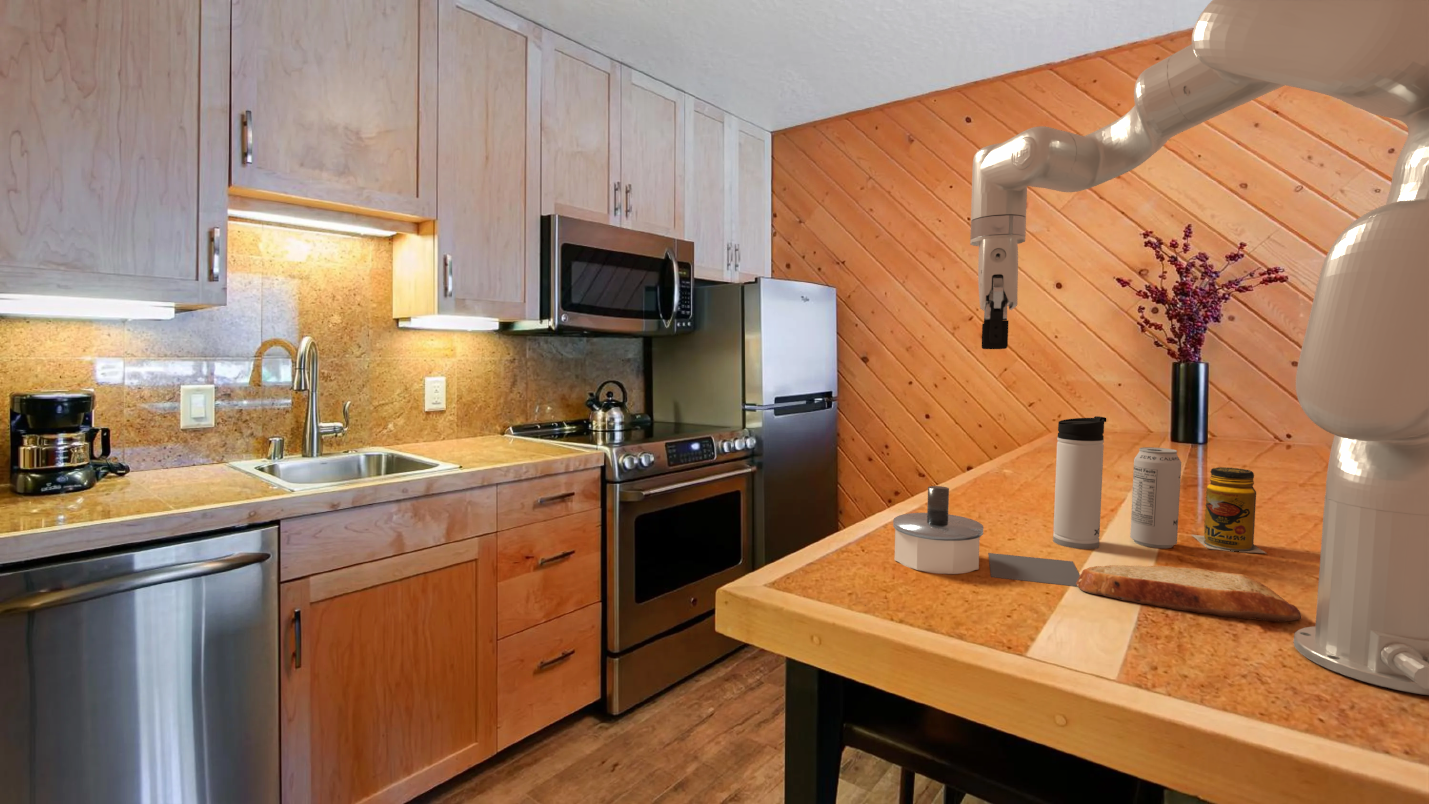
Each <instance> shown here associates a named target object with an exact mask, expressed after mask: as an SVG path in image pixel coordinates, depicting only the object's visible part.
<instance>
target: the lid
mask: <svg viewBox="0 0 1429 804" xmlns="http://www.w3.org/2000/svg"><path fill="white" fill-rule="evenodd" d="M949 500H950V488H949V487H946V486H942V485H940V486H939V485H931V486H930V485H929V486H928V487H927V505H926V506H927V508H926V509H927V511H926V512H911V513H904V514H903V513H902V514H900V515H897V516H895V517H894V518H893V520H892V521H893V524H892V527H893V528H894V530H895V529H896V530H897V531H899V532H901V533H904V534H907V535H910V536H914V537H919V538H924V539H932V540H943V541H961V540H971V539H975V538H978V537H980V538H981V537H983V535H984V525H983V524H981V523H980V521H977V520H974V519H973V518H972V519H971V518H968V517H965V516H960V515H954V514H949V504H950V503H949V502H950V501H949Z"/></svg>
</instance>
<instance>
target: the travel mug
mask: <svg viewBox="0 0 1429 804" xmlns="http://www.w3.org/2000/svg"><path fill="white" fill-rule="evenodd" d="M1106 422H1107V417H1105V416H1098V415H1097V416H1093V417H1076V418H1075V417H1074V418H1067V419H1061V420H1058V425H1057V426H1058V427H1057V431H1058V433H1057V439H1056V440H1057V442H1056V462H1055V485H1054V511H1053V512H1054V514H1053V535H1052V536H1053V537H1052V541H1053V543H1054V544H1056V545H1059V546H1061V547H1066V548H1069V549H1077V550H1095V549H1099V547H1100V535H1101V533H1100V531H1101V513H1102V512H1101V511H1102V509H1101V508H1102V493H1103V492H1102V487H1103V466H1104V465H1103V464H1104V443H1105V440H1104V438H1105V437H1104V433H1105V423H1106Z"/></svg>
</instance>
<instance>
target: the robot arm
mask: <svg viewBox="0 0 1429 804" xmlns="http://www.w3.org/2000/svg"><path fill="white" fill-rule="evenodd" d="M1285 86H1287V87H1290V88H1291V87H1293V88H1296V89H1301V90H1305V91H1310V92H1314V93H1318V94H1323V95H1326V96H1329V97H1331V98H1334V99H1337V100H1340V101H1343V102H1344V103H1346V104H1348V105H1351V106H1352V107H1354V108H1357V109H1360V110H1363V111H1366V112H1368V113H1369V114H1372V115H1376V116H1381V117H1384V118H1389V119H1392V120H1396V121H1401V122H1403V124H1405V125H1406V127H1407V131H1408V133H1407V137H1406V140H1405V142H1404V144H1403V146H1402V148H1401V150H1400V152H1399V155H1398V157H1397V159H1396V162H1395V166H1394V169H1393V172H1392V176H1391V177H1392V178H1391V183H1390V189H1389V193H1388V196H1387V198H1386V202H1385V204H1383V205H1381V206H1379V207H1376V208H1375V209H1372V210H1370V211H1369V212H1368V211H1367V212H1366V213H1365V214H1363V215H1361V216H1359V217H1358V218H1356V219H1355V220H1354V221H1353V222H1351V223H1350V224H1348V226H1347V227H1346V228H1345V229H1343V231H1342V232H1340V234H1339V235H1338V236H1337V238H1336V239H1335V240H1334V242H1333V243H1332V245H1331V247H1329V250H1328V252H1327V254H1326V256H1325V258H1324V260H1323V262H1322V266H1321V268H1320V272H1319V276H1318V281H1317V284H1316V287H1315V291H1314V292H1315V293H1314V295H1313V296H1314V297H1313V301H1312V305H1311V308H1310V313H1309V317H1308V321H1307V325H1306V329H1305V333H1304V338H1303V341H1302V345H1301V350H1300V353H1299V357H1298V362H1297V363H1298V364H1297V368H1296V373H1295V392H1296V397H1297V401H1298V403H1299V405H1300V407H1301V409H1302V411H1303V412H1304V415H1306V416H1307V418H1308V419H1309V420H1310V421H1312V423H1314V424H1315V425H1316V426H1317V427H1319V428H1320V429H1322V430H1324V431H1326V432H1328V433H1330V434H1332V435H1334V436H1333V439H1332V444H1331V447H1330V448H1331V449H1330V453H1329V457H1328V458H1329V459H1328V465H1327V472H1326V481H1325V494H1324V505H1323V515H1322V530H1321V543H1320V544H1321V545H1320V559H1319V573H1318V586H1317V599H1316V600H1317V601H1316V615H1315V626H1307V627H1303V628H1300V629H1298V630H1296V631H1295V632H1294V634H1293V646H1294V648H1295V649H1296V650H1297V651H1298V653H1300V655H1302V656H1304V657H1305V658H1307V659H1308V660H1310V661H1311V662H1313V663H1315V664H1316V665H1319V666H1321V667H1323V668H1325V669H1327V670H1330V671H1332V672H1334V673H1338V674H1340V675H1343V676H1345V677H1349V678H1352V679H1354V680H1358V681H1360V682H1364V683H1368V684H1371V685H1375V686H1379V687H1383V688H1386V689H1387V688H1388V689H1389V690H1390V689H1391V690H1396V691H1401V692H1405V693H1409V694H1410V693H1411V694H1417V695H1424V696H1429V0H1211V1H1210V2H1209V3H1208V4H1207V6H1205V8H1204V9H1203V10H1202V12H1201V13H1200V15H1199V17H1198V18H1197V20H1196V21H1195V24H1194V26H1193V30H1192V34H1191V43H1190V44H1189V45H1187V46H1186V47H1184V48H1181V49H1180V50H1178V51H1176V52H1174V53H1173V54H1170V55H1169V56H1167V57H1166V58H1164V59H1161V60H1160V61H1159V62H1156V63H1154V64H1152V65H1151V66H1149V67H1147V68H1146V69H1144V70H1143V71H1142V72H1141V73H1140V74H1139V75H1138V77H1137V79H1136V81H1135V84H1134V89H1133V99H1134V106H1133V107H1131V109H1130V110H1129V111H1128V112H1126V113H1125V114H1123V115H1122V116H1121V117H1119V118H1117V119H1116V120H1114V121H1113V122H1110V123H1109V124H1107V125H1105V126H1103V127H1100V128H1099V129H1097V130H1095V131H1093V132H1090V133H1088V134H1086V135H1080V134H1077V133H1073V132H1070V131H1066V130H1060V129H1057V128H1054V127H1049V126H1045V125H1044V126H1042V125H1040V126H1033V127H1030V128H1027V129H1026V130H1024V131H1021V132H1019V133H1018V134H1016V135H1014V136H1012V137H1011V138H1009V139H1007V140H1005V141H1003V142H1000V143H998V142H997V143H994V144H990V145H987V146H983V147H982V148H980V149H979V150H977V151H976V153H975V154H974V155H973V160H972V172H971V173H972V174H971V176H972V177H971V206H970V207H971V209H970V240H969V241H970V242H969V244H970V246H973V247H978V263H977V265H978V267H977V270H978V272H977V273H978V274H977V276H978V277H977V278H978V280H977V283H978V299H979V300H978V301H979V307H980V310H982V311H984V312H983V313H984V314H983V315H984V316H983V323H982V325H981V327H982V328H981V348H982V349H983V350H1005V349H1007V348H1008V345H1009V343H1008V342H1009V320H1008V310H1009V311H1012V310H1013V309H1015V308H1016V307H1017V306H1018V292H1019V291H1018V286H1019V285H1018V283H1019V282H1018V281H1019V246H1018V245H1020V244H1022V243H1025V242H1026V231H1027V202H1028V200H1027V199H1028V197H1027V196H1028V187H1032V188H1033V187H1034V188H1039V189H1040V188H1041V189H1046V190H1053V191H1057V192H1061V193H1076V192H1077V193H1078V192H1082V191H1086V190H1089V189H1092V188H1093V187H1096V186H1099V185H1101V184H1103V183H1106V182H1108V181H1111V180H1113V179H1116V178H1117V177H1120V176H1122V175H1124V174H1127V173H1129V172H1130V171H1132V170H1134V169H1136V168H1138V167H1139V166H1141V165H1143V164H1144V163H1145V162H1146V161H1147V160H1149V159H1150V158H1151V157H1152V156H1154V155H1155V154H1156V153H1157V152H1158V151H1159V150H1160V149H1162V148H1163V147H1164V146H1165V144H1166V143H1167V142H1168V141H1169V140H1171V139H1172V138H1174V137H1175V136H1177V135H1178V134H1182V133H1183V132H1185V131H1187V130H1190V129H1191V128H1194V127H1196V126H1199V125H1201V124H1203V123H1204V122H1206V121H1209V120H1211V119H1213V118H1216V117H1218V116H1219V115H1220V116H1221V115H1222V114H1224V113H1227V112H1228V111H1231V110H1234V109H1235V108H1237V107H1239V106H1242V105H1244V104H1247V103H1250V102H1251V101H1253V100H1256V99H1259V97H1263V96H1265V95H1267V94H1269V93H1270V92H1273V91H1275V90H1278V89H1280V88H1282V87H1285Z"/></svg>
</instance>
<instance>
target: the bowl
mask: <svg viewBox="0 0 1429 804" xmlns="http://www.w3.org/2000/svg"><path fill="white" fill-rule="evenodd" d="M980 538H981V537H978V538H975V539H971V540H961V541H943V540H932V539H924V538H919V537H914V536H910V535H907V534H904V533H901V532H899V531H897V530H896V529H895V528H894V561H896V562H897V563H900V564H901V565H902V566H904V567H907V568H909V569H912V570H915V571H920V572H925V573H931V574H939V575H942V574H943V575H959V574H966V573H970V572H973V571H977V570H979V569H980V566H979V565H980V540H981V539H980Z"/></svg>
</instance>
